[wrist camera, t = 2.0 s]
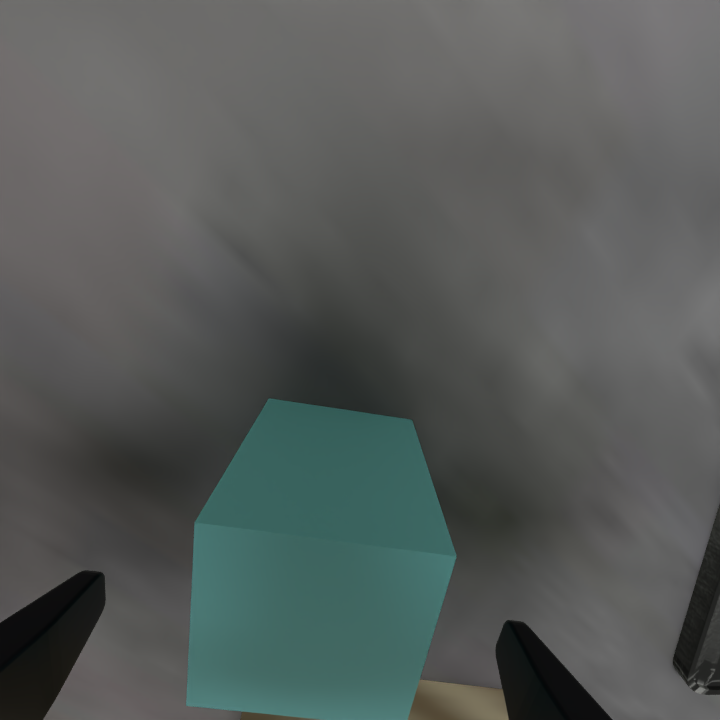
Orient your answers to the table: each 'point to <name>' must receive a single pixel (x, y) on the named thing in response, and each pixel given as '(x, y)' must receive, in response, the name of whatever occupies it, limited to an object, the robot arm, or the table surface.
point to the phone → (703, 625)
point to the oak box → (438, 704)
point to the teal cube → (318, 569)
